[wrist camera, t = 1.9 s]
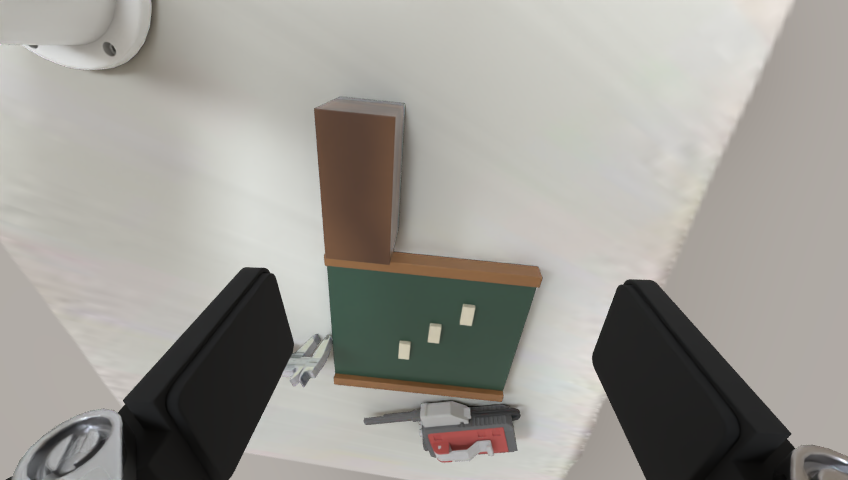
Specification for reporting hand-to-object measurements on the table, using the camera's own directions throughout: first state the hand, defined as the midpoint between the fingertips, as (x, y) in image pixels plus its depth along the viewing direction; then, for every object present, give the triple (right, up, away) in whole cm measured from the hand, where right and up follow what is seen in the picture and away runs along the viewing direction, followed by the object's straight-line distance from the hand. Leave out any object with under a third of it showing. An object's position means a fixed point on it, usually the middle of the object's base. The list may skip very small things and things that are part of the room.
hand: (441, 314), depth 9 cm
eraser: (-5, +8, +18) cm, 21 cm away
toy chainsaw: (+2, -22, +36) cm, 42 cm away
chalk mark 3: (+4, -5, +24) cm, 25 cm away
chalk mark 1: (-3, -10, +27) cm, 29 cm away
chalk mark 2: (+1, -8, +26) cm, 27 cm away
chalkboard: (0, -7, +27) cm, 28 cm away
